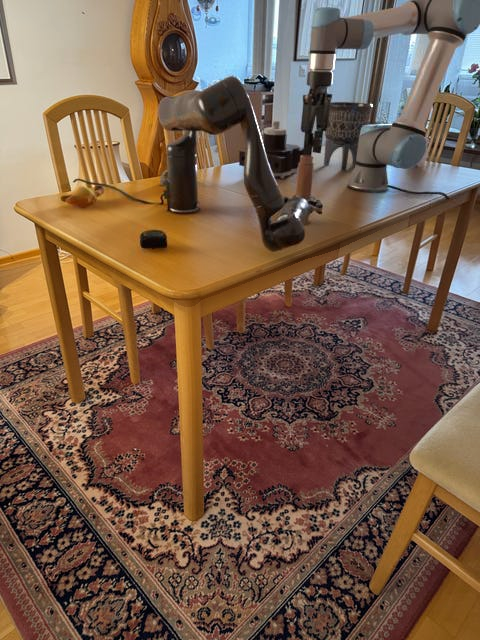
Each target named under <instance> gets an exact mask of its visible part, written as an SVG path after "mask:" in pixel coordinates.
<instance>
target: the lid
mask: <svg viewBox="0 0 480 640" xmlns="http://www.w3.org/2000/svg"><path fill="white" fill-rule="evenodd" d="M320 146H321V138H318V137H314V136H313V145H312V148H313V147H320Z"/></svg>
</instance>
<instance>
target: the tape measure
mask: <svg viewBox="0 0 480 640" xmlns="http://www.w3.org/2000/svg"><path fill="white" fill-rule="evenodd" d="M167 236H168V235H167V234H166V232H165V231H164V230H161V229H147V230H144V231H143V232H141V233H140V235H139V240H140V241H139V245H140V246H139V247H141V248H142V249H146V250H157V249H167V248H168V240H167V239H168V237H167Z"/></svg>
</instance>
